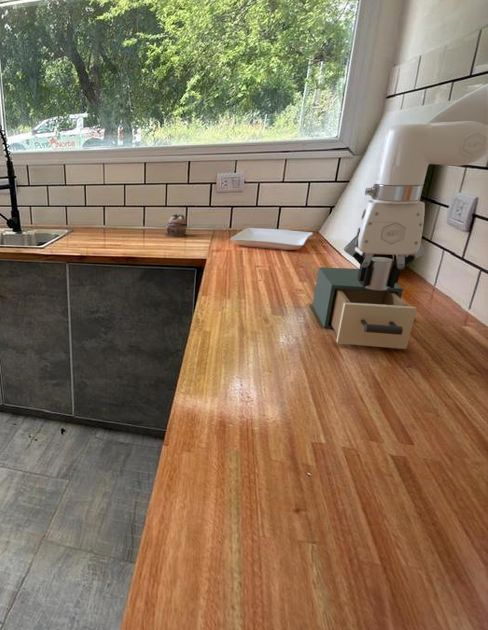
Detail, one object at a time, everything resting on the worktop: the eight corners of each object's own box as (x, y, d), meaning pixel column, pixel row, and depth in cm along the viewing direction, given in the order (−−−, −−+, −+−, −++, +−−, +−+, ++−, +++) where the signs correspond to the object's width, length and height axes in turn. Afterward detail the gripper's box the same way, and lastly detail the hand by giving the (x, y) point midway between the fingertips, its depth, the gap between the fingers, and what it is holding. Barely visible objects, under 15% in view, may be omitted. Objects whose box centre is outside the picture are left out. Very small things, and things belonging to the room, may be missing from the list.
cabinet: (392, 333, 100) (403, 288, 96) (323, 328, 104) (331, 285, 100) (371, 310, 114) (380, 269, 110) (312, 306, 118) (318, 267, 114)
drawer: (415, 359, 87) (426, 317, 83) (342, 353, 90) (350, 312, 87) (383, 322, 104) (392, 286, 100) (323, 318, 107) (330, 283, 104)
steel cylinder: (389, 291, 90) (396, 262, 88) (367, 289, 91) (373, 261, 89) (383, 285, 94) (390, 257, 92) (361, 284, 95) (367, 256, 93)
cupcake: (186, 233, 213) (187, 212, 209) (186, 238, 204) (187, 215, 201) (165, 233, 215) (166, 212, 211) (165, 237, 206) (166, 215, 203)
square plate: (228, 247, 184) (229, 237, 183) (246, 235, 205) (247, 226, 203) (301, 253, 169) (302, 243, 168) (312, 240, 190) (314, 231, 189)
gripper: (351, 196, 85) (334, 288, 92) (458, 196, 80) (431, 293, 87) (342, 192, 92) (326, 278, 98) (440, 192, 87) (417, 282, 93)
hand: (376, 284), depth 92 cm, fingers closed on steel cylinder, 4 cm apart
